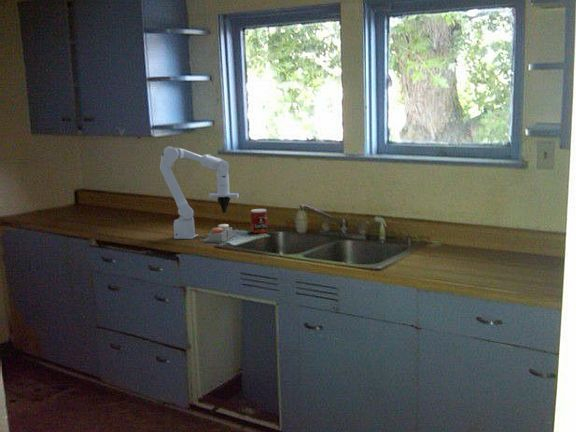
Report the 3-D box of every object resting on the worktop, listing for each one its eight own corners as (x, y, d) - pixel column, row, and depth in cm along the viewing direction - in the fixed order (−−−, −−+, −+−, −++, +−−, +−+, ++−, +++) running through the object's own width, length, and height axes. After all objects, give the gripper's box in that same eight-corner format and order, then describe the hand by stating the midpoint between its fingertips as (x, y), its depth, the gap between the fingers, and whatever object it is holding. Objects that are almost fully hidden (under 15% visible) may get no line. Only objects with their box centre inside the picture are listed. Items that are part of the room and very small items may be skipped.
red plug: (210, 238, 310) (210, 229, 310) (214, 236, 315) (214, 227, 314) (220, 239, 309) (220, 229, 308) (224, 236, 314) (224, 227, 313)
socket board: (204, 242, 310) (204, 233, 309) (216, 234, 325) (216, 227, 324) (225, 242, 307) (224, 234, 307) (236, 235, 323) (235, 227, 322)
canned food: (253, 234, 323) (252, 212, 321) (250, 231, 330) (249, 209, 328) (269, 233, 325) (268, 210, 323) (265, 230, 332) (264, 208, 330)
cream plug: (217, 235, 319) (216, 226, 318) (220, 232, 323) (220, 224, 323) (227, 235, 317) (226, 226, 317) (230, 233, 322) (230, 224, 321)
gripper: (240, 183, 325) (241, 211, 328) (211, 183, 329) (213, 210, 331) (235, 185, 319) (236, 213, 321) (206, 185, 322) (208, 213, 325)
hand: (224, 212), depth 326 cm, fingers closed
